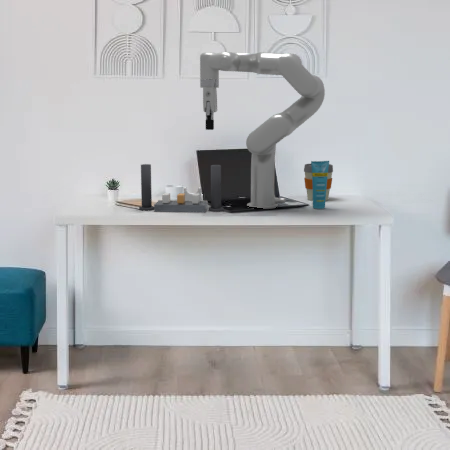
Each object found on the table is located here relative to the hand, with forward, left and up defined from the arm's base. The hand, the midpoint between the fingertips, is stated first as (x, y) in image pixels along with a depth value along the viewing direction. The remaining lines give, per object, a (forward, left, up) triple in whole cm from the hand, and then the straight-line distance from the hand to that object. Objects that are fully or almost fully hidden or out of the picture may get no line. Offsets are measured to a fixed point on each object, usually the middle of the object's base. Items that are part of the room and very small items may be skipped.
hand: (209, 129), depth 315 cm
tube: (-45, +5, -31) cm, 55 cm away
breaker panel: (+10, +14, -31) cm, 36 cm away
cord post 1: (+24, +14, -31) cm, 42 cm away
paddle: (+4, +14, -28) cm, 32 cm away
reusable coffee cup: (-45, -18, -31) cm, 58 cm away
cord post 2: (-4, +14, -31) cm, 34 cm away
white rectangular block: (+16, +14, -28) cm, 35 cm away
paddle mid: (+10, +14, -28) cm, 33 cm away
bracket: (+7, -4, -32) cm, 33 cm away
